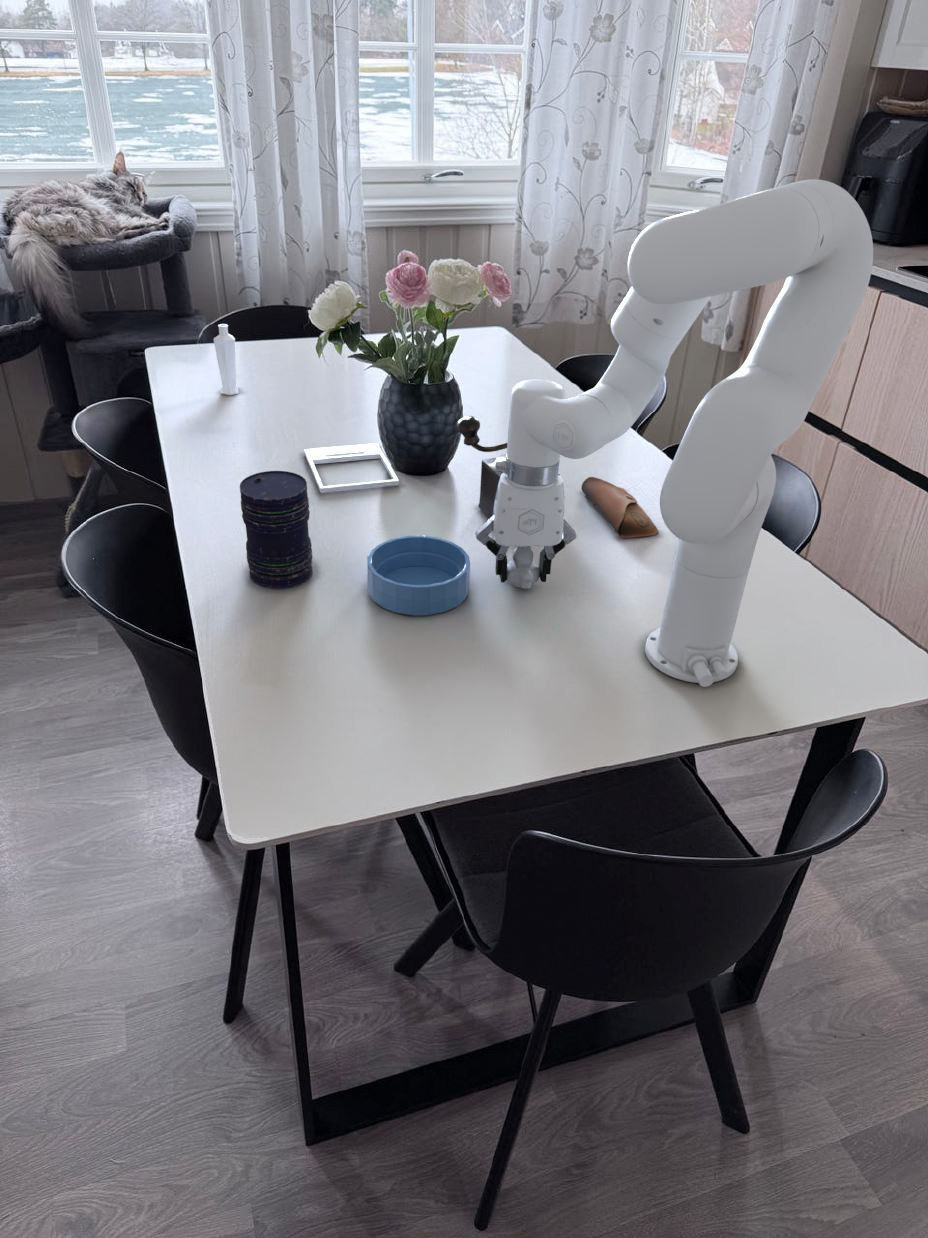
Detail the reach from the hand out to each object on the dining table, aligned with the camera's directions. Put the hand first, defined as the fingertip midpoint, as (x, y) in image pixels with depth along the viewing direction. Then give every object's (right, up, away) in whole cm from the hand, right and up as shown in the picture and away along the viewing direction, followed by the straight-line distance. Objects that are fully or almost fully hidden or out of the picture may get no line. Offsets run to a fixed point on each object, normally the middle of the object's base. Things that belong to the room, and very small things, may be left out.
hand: (522, 576), depth 137 cm
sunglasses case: (+19, +12, +23) cm, 32 cm away
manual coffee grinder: (-2, +11, +20) cm, 23 cm away
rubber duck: (0, -2, +1) cm, 2 cm away
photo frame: (-31, +22, +34) cm, 51 cm away
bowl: (-16, -2, -1) cm, 16 cm away
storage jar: (-37, +1, +2) cm, 37 cm away
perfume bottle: (-62, +45, +66) cm, 101 cm away
